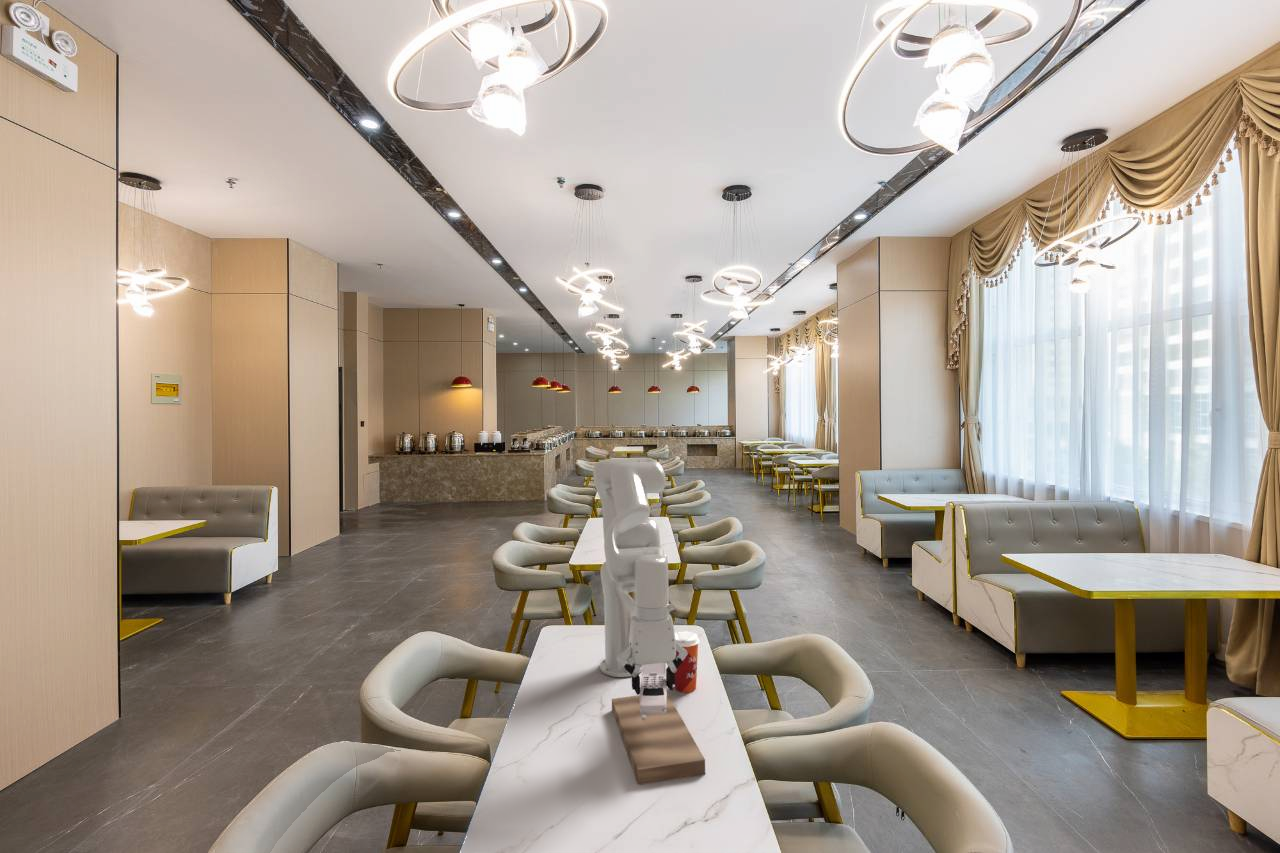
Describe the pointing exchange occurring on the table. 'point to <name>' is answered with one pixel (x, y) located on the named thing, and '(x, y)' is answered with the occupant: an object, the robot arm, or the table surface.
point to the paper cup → (687, 662)
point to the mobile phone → (653, 689)
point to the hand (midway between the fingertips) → (653, 689)
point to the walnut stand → (657, 742)
